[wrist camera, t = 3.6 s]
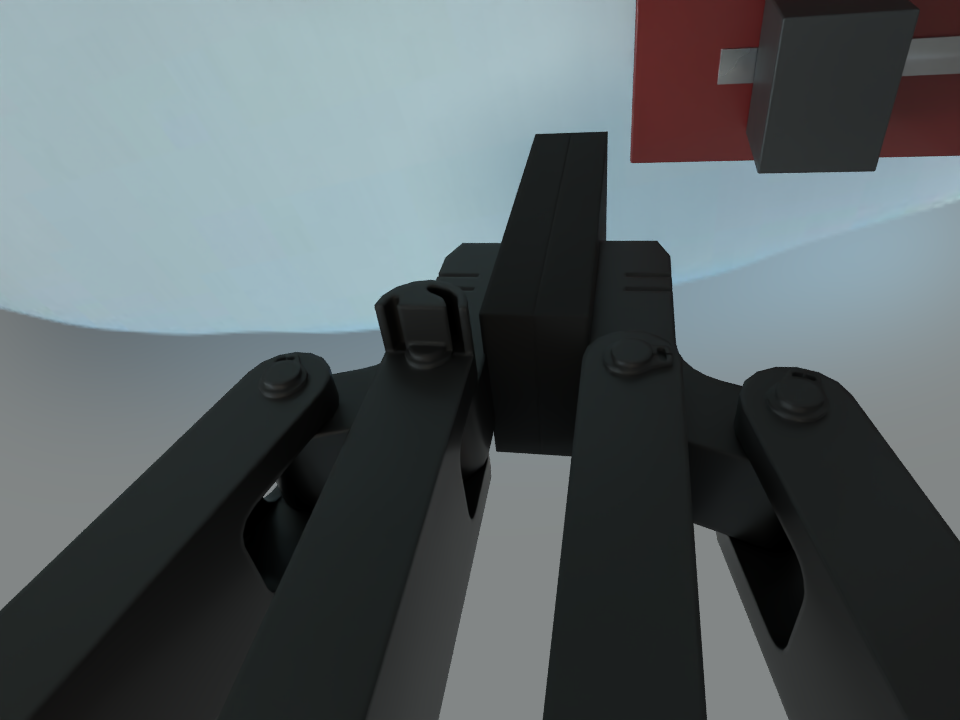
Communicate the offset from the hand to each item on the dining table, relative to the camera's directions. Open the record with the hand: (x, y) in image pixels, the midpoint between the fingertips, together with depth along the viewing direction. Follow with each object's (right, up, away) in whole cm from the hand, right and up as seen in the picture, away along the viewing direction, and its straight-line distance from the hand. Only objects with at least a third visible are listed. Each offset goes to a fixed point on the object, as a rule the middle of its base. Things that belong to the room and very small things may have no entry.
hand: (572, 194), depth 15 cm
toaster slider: (+8, +5, +5) cm, 10 cm away
